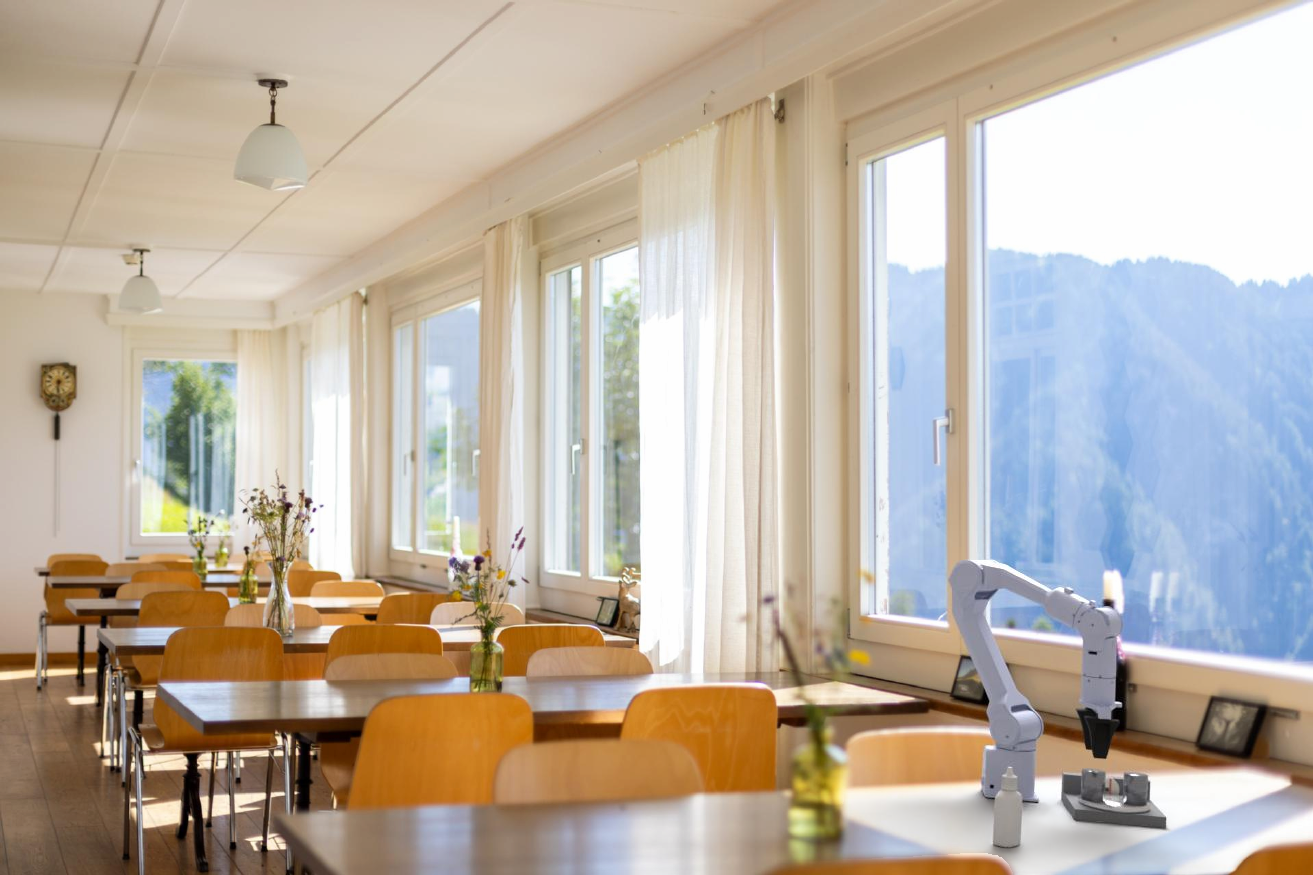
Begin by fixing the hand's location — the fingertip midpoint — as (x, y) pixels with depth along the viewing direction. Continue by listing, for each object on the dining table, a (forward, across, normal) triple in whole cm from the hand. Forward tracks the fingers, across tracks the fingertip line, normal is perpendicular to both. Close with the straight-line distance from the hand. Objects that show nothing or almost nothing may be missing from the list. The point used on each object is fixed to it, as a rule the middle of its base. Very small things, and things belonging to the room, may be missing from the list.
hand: (1095, 753), depth 230 cm
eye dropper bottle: (+11, -26, +18) cm, 34 cm away
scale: (+10, +2, -3) cm, 11 cm away
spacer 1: (+8, 0, 0) cm, 8 cm away
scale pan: (+9, 0, -3) cm, 9 cm away
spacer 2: (+8, 0, -7) cm, 10 cm away
